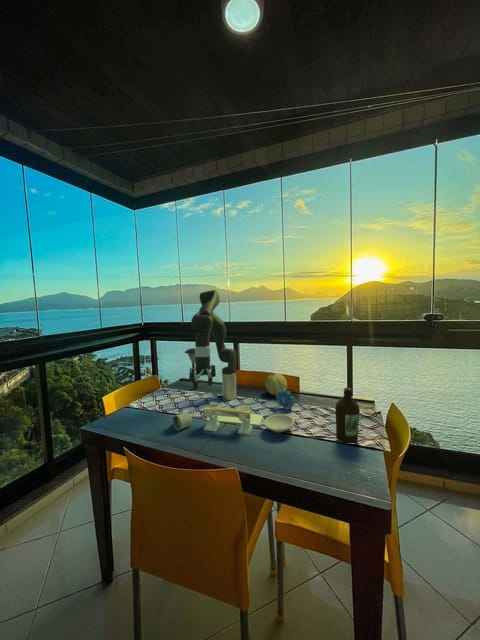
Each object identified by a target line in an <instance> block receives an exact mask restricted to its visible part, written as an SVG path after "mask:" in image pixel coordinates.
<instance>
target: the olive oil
mask: <svg viewBox="0 0 480 640" xmlns="http://www.w3.org/2000/svg"><path fill="white" fill-rule="evenodd" d="M352 393H353V392H352V388H351V387H344V389H343V396H342V397H340V398H339V399H338V400H337V401H336V404H335V409H334V410H335V411H334V412H335V433H336V435H335V436H336V437H335V438H337V439H338V440H339V441H341V442H343V443H356V442H357V443H358V441H357V440H358V438H359V437H358V436H359V423H360V422H359V421H360V412H361V410H360V406H359V404H358V402H357V401H356V400H355V399H354V398H353V397H352ZM337 439H336V440H337ZM338 440H337V441H338ZM339 441H338V442H339ZM357 443H356V444H357Z"/></svg>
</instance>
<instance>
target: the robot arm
mask: <svg viewBox="0 0 480 640" xmlns="http://www.w3.org/2000/svg"><path fill="white" fill-rule="evenodd" d="M199 302H200V305H201V307H200V308H199V309H198V310H199V311H198V312H196V313H195V314H194V315H193V316H192V318H191V323H190V325H191V327H192V328H193V329H194V330H204V332H202V333H199V334H196V335H195V337H194V338H195V339H194V340H195V346H194V348H195V368H192V367H190V368H189V378H188V379H189V381H191V382H192V389H193V388H194V389H196V390H198V386H199V385H198V380H199V379H200V378H201V377H203V376H207V377H208V378H207V385H208V386H209V387H211V386H212V385H213V378H216V376H217V375H216V365H214V364H211V347H210V339H211V338H210V337H211V334H212V337H213V340H214V343H215V347H216V351H217V355H218V358H219V361H220V362H222V363H227V366H224V367H223V368H222V369H221V381H222V382H221V383H222V384H221V385H222V386H221V387H222V399H223V400H226V401H232V400H235V399H237V364H238V363H237V361H238V360H237V359H238V358H237V357H238V356H237V355H238V354H237V351H236V350H235V349H233V348H227V347H226V345H225V339H226V337H227V327H226V325H225V322H224V321H223V320H222V318H220V316H218V315H217V314H215V313H214V311H215V310H216V308H217V306H218V305H219V303H220V295H219V293H218V291H217V290H215V289H211V290H207V291H204V292H203V291H202V292H200V293H199ZM194 373H195V375H194Z"/></svg>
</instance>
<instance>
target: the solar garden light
mask: <svg viewBox="0 0 480 640" xmlns="http://www.w3.org/2000/svg"><path fill="white" fill-rule="evenodd" d="M184 353H185V354H187V355H188V357H189V360H190V362H191V368H195V367H196V365H195V347H194V348H188V349H187V350H185V351H184ZM195 373H196V372H195ZM195 373H194V375H195ZM192 390H193V391H196V390H197V389H194V388H193V387H192Z"/></svg>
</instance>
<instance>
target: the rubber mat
mask: <svg viewBox="0 0 480 640" xmlns="http://www.w3.org/2000/svg"><path fill="white" fill-rule="evenodd" d="M263 417H264V415H263V414H256V413H255V414H254V413H251V426H256V425H257V426H260V425H261V423H262V420H263ZM205 420H206V421H208V422H209V421H210V418H206V419H205ZM218 422H220V423H227V424H237V425H242V421H240V419H239V418H237V417H227V416H218Z"/></svg>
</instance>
